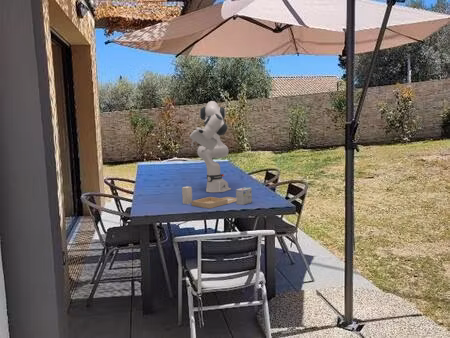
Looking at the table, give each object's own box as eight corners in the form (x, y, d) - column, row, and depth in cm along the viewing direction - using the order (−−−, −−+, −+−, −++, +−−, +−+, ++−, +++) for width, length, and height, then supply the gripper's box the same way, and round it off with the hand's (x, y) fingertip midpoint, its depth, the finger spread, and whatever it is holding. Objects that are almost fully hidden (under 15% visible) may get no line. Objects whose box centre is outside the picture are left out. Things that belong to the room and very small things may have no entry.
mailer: (227, 197, 348) (226, 192, 348) (244, 199, 336) (244, 195, 336) (191, 205, 321) (191, 200, 321) (209, 208, 309) (209, 203, 309)
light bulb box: (245, 201, 330) (244, 187, 328) (252, 202, 326) (252, 187, 324) (236, 204, 322) (235, 189, 320) (243, 205, 317) (243, 190, 316)
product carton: (187, 202, 334) (187, 186, 333) (192, 203, 331) (191, 187, 329) (182, 203, 330) (181, 187, 329) (187, 204, 327) (186, 188, 326)
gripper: (217, 140, 341) (207, 155, 343) (195, 126, 334) (185, 141, 337) (219, 142, 335) (209, 157, 337) (196, 127, 329) (186, 143, 331)
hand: (196, 149), depth 337 cm, fingers open, 8 cm apart
